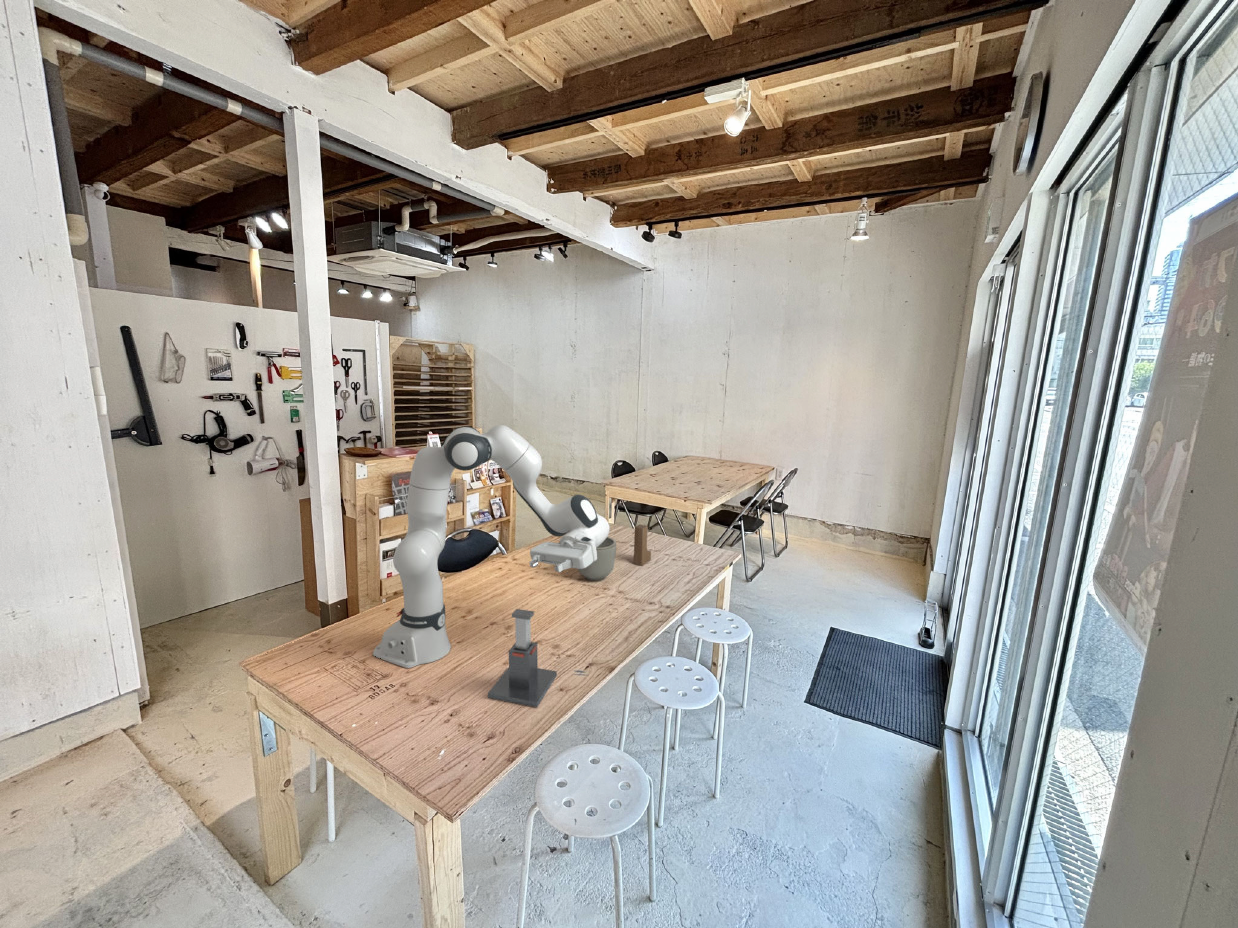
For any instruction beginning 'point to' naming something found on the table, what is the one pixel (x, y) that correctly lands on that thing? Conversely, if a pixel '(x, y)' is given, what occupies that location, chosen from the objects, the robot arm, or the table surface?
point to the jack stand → (523, 679)
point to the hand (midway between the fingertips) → (543, 567)
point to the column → (523, 629)
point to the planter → (601, 561)
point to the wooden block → (641, 546)
